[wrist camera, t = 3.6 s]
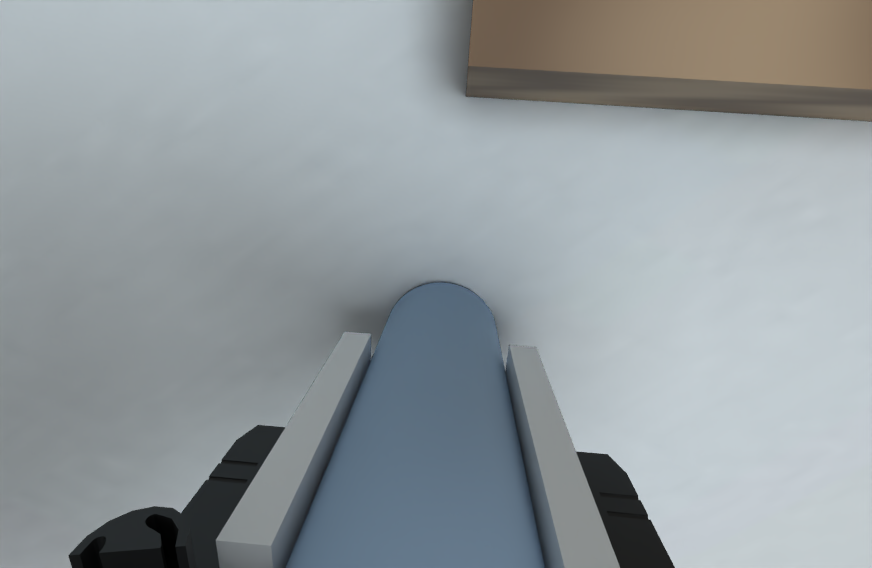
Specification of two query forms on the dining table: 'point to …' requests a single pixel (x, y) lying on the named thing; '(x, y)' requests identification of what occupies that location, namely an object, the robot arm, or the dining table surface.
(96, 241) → the dining table surface
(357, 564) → the peg
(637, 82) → the socket block
